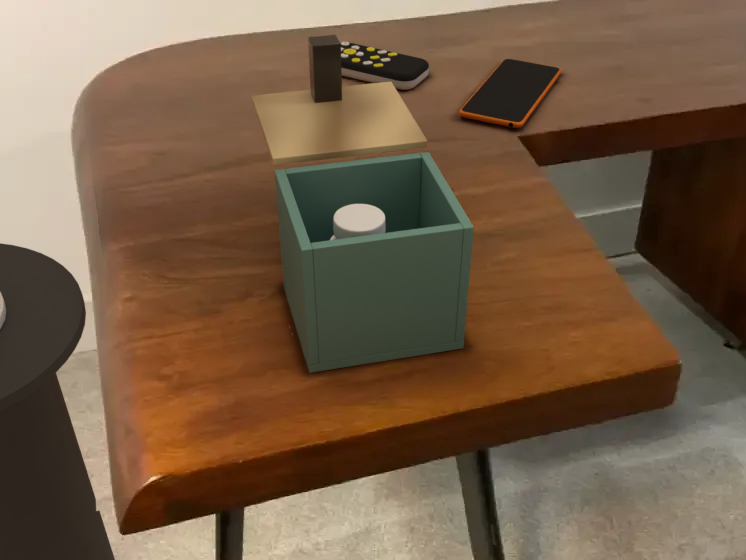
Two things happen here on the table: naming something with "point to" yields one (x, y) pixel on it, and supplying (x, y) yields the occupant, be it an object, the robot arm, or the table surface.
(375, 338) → the box
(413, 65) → the remote control
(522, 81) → the smartphone
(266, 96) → the slide lid
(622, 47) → the table surface
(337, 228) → the pill bottle
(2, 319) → the robot arm
